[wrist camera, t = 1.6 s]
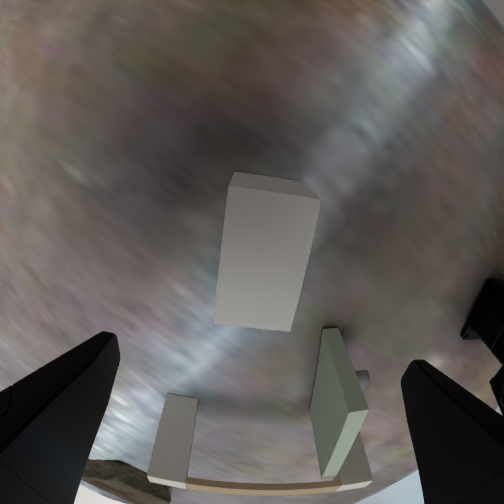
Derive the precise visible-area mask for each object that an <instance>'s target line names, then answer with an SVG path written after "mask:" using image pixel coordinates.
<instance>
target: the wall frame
mask: <svg viewBox="0 0 504 504" xmlns="http://www.w3.org/2000/svg"><path fill="white" fill-rule="evenodd" d="M197 409H198V399H196V398H190V397H184V396H178V395H172V394H167V396H166V400H165V404H164V408H163V411H162V415H161V419H160V423H159V427H158V431H157V435H156V439H155V443H154V447H153V452H152V456H151V460H150V464H149V469H148V473H147V477H148V479H149V481H150V482H153V483H158V484H163V485H168V486H173V487H178V488H184V489H191V490H198V491H205V492H214V493H225V494H239V495H301V494H315V493H325V492H334V491H342V490H349V489H355V488H361V487H366V486H367V485H368V484H369V483H371V482H372V481H373V478H372V474H371V470H370V467H369V463H368V460H367V456H366V452H365V449H364V445H363V442H362V438H361V435H360V432H358V435H357V437H356V439H355V441H354V443H353V445H352V447H351V449H350V451H349V453H348V455H347V457H346V458H345V460H344V462H343V464H342V466H341V468H340V469H339V471H338V473H337V475H336V476H334V477H333V480H334V481H324V482H312V483H293V484H254V483H235V482H223V481H213V480H205V479H197V478H190V477H187V476H188V468H189V461H190V454H191V448H192V441H193V434H194V428H195V421H196V415H197Z"/></svg>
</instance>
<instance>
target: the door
mask: <svg viewBox="0 0 504 504" xmlns="http://www.w3.org/2000/svg"><path fill="white" fill-rule="evenodd" d="M369 385H370V376H369V373H368V371H367V370H360V371H355V370H354V367H353V364H352V362H351V359H350V357H349V354H348V351H347V349H346V346H345V344H344V341H343V339H342V336H341V334H340V331H339V329H338V328H330V329H323V331H322V338H321V345H320V352H319V358H318V365H317V371H316V377H315V383H314V389H313V394H312V400H311V405H310V415H311V420H312V426H313V432H314V437H315V443H316V449H317V455H318V461H319V467H320V473H321V478H328V477H334V476H336V475H337V473H338V471H339V469H340V468H341V466H342V464H343V462H344V460H345V458H346V457H347V455H348V453H349V451H350V449H351V447H352V445H353V443H354V441H355V439H356V437H357V435H358V432H359V430H360V428H361V426H362V424H363V422H364V419H365V417H366V415H367V413H368V410H369V408H368V405H367V402H366V400H365V397H364V394H363V391H362V390H366V389H368V388H369Z"/></svg>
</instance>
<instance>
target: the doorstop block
mask: <svg viewBox="0 0 504 504" xmlns="http://www.w3.org/2000/svg"><path fill="white" fill-rule="evenodd" d="M321 201H322V200H321V199H320V198H319V197H318V196H317V195H316V194H315V193H314V192H313V191H312V190H311V189H310V188H309V187H307V186H306V185H305V184H304V183H303V182H300V181H294V180H288V179H282V178H276V177H269V176H263V175H256V174H249V173H241V172H234V174H233V177H232V179H231V181H230V184H229V186H228V194H227V202H226V210H225V218H224V227H223V235H222V244H221V253H220V262H219V271H218V281H217V291H216V301H215V311H214V322H213V323H214V324H222V325H230V326H238V327H247V328H256V329H265V330H276V331H287V332H290V330H291V326H292V323H293V319H294V315H295V312H296V308H297V304H298V300H299V296H300V292H301V288H302V284H303V280H304V276H305V272H306V268H307V264H308V260H309V256H310V251H311V247H312V243H313V238H314V234H315V229H316V225H317V220H318V216H319V211H320V206H321Z"/></svg>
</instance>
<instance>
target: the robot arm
mask: <svg viewBox="0 0 504 504" xmlns="http://www.w3.org/2000/svg"><path fill="white" fill-rule="evenodd" d="M461 338H462V339H463V340H469V339H481V340H482V341H483V342H484V344H485V345H486V346H487V347H488V348H489V350H490V351H491V352H492V353H493V355H494V356H495V357H496V358H497V359H498V361H499V362H500V363H501V365H502V367H501V368H500V370H499V371H498V372H497V374H496V375H495V376H494V377H492V379H491V380H490V381H489V382H490V385H491V387H492V391H493V393H494V395H495V398H496V400H497V403H498V405H499V407H500V410H501V412H502V415H503V416H502V415H500V414H499V413H496V411H495V410H494V409H492V408H491V407H490V406H488V405H487V404H485V403H484V402H483V401H481V400H480V399H478V398H477V397H476V396H474V395H473V394H471V393H470V392H469V391H467V390H466V389H464V388H463V387H462V386H460V385H459V384H457V383H456V382H455V381H453V380H452V379H450V378H449V377H448V376H446V375H445V374H443V373H442V372H441V371H439V370H438V369H436V368H435V367H434V366H432V365H431V364H429V363H428V362H426V361H425V360H422V359H421V360H413V361H412V362H411V363H410V364H409V366H408V368H407V370H406V371H405V373H404V375H403V376H402V378H401V388H402V394H403V399H404V405H405V411H406V417H407V423H408V427H409V431H410V435H411V439H412V443H413V448H414V452H415V456H416V461H417V466H418V470H419V475H420V480H421V486H422V491H423V497H424V504H504V281H503V280H496V279H488V280H487V281H486V283H485V285H484V288H483V290H482V292H481V295H480V297H479V299H478V301H477V303H476V306H475V308H474V310H473V312H472V314H471V316H470V318H469V320H468V322H467V324H466V326H465V328H464V330H463V331H462V333H461ZM119 362H120V351H119V345H118V339H117V336H116V334H114V333H110V332H106V331H102V332H100V333H98V334H97V335H95V336H93V337H91V338H90V339H88V340H86V341H85V342H83V343H81V344H80V345H78V346H76V347H75V348H73V349H71V350H69V351H68V352H66V353H64V354H63V355H61V356H59V357H58V358H56V359H54V360H53V361H51V362H49V363H48V364H46V365H44V366H43V367H41V368H39V369H38V370H36V371H34V372H33V373H31V374H29V375H28V376H26V377H24V378H23V379H21V380H19V381H18V382H16V383H14V384H13V386H12V385H11V386H9V387H7V388H6V389H4V390H2V391H1V392H0V504H74V501H75V497H76V494H77V490H78V487H79V484H80V481H81V478H82V475H83V472H84V469H85V466H86V463H87V460H88V457H89V454H90V451H91V448H92V446H93V443H94V440H95V437H96V435H97V432H98V429H99V426H100V424H101V421H102V419H103V416H104V413H105V411H106V408H107V405H108V402H109V399H110V395H111V391H112V387H113V384H114V380H115V376H116V373H117V369H118V366H119Z"/></svg>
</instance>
